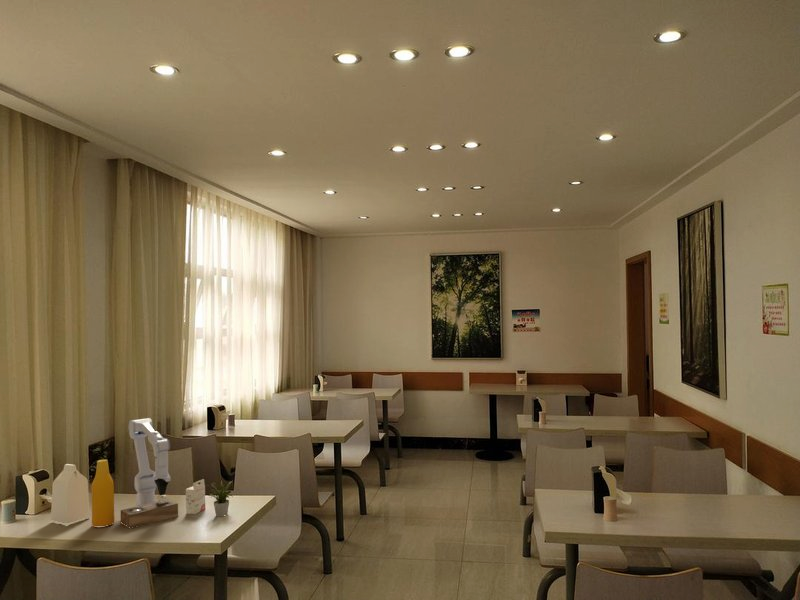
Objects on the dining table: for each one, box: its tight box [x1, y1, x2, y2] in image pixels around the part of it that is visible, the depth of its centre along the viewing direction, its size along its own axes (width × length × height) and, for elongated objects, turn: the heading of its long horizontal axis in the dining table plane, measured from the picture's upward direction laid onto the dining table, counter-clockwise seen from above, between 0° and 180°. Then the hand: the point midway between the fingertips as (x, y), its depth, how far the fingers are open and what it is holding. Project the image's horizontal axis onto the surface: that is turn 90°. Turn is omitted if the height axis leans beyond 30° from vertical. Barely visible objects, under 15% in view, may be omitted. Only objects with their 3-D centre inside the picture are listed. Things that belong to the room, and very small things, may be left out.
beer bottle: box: [91, 459, 115, 527], centre depth 273 cm, size 9×9×29 cm
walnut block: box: [120, 498, 179, 529], centre depth 278 cm, size 11×22×6 cm, turn 135°
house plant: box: [207, 479, 233, 517], centre depth 281 cm, size 14×14×16 cm
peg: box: [157, 494, 168, 506], centre depth 282 cm, size 4×4×6 cm
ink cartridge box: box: [185, 478, 206, 515], centre depth 288 cm, size 9×5×15 cm, turn 161°
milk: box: [50, 463, 91, 523], centre depth 281 cm, size 12×12×26 cm
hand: (162, 494), depth 282 cm, fingers closed
